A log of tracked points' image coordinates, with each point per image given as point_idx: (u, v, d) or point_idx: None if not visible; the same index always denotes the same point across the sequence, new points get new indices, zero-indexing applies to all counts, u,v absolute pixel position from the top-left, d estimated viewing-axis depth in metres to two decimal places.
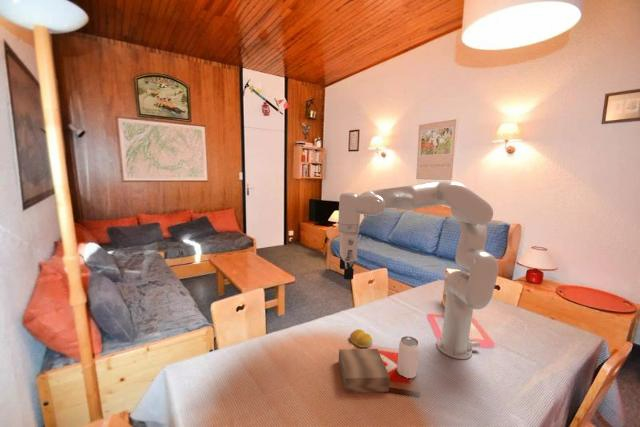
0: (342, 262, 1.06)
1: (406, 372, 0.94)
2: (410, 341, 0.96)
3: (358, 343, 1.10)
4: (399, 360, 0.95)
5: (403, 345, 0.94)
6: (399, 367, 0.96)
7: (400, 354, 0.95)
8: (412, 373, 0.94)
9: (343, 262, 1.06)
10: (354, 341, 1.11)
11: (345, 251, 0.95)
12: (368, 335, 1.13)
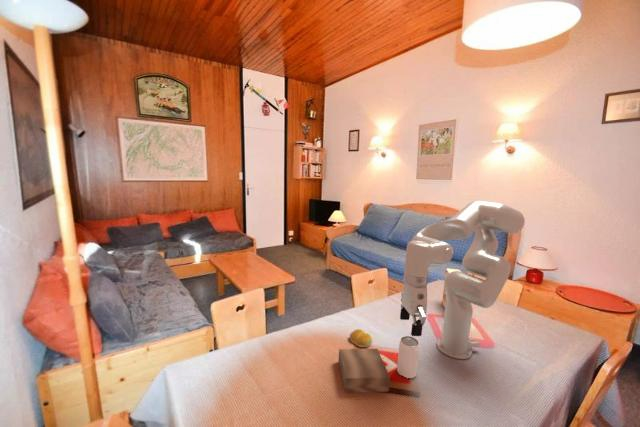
0: (403, 312, 0.98)
1: (406, 372, 0.94)
2: (410, 341, 0.96)
3: (358, 343, 1.10)
4: (399, 360, 0.95)
5: (403, 345, 0.94)
6: (399, 367, 0.96)
7: (400, 354, 0.95)
8: (412, 373, 0.94)
9: (404, 312, 0.98)
10: (354, 341, 1.11)
11: (414, 306, 0.88)
12: (368, 335, 1.13)
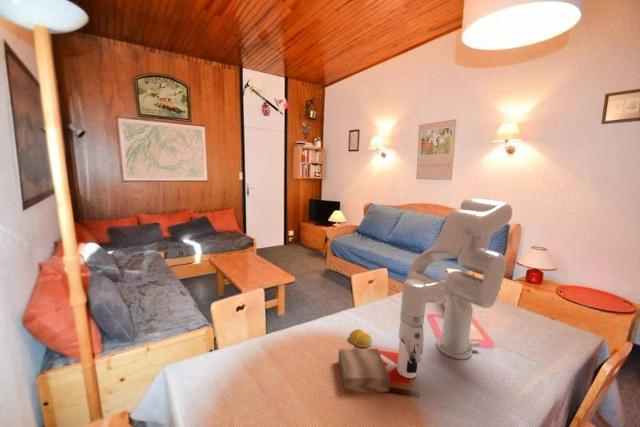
0: None
1: (406, 372, 0.94)
2: None
3: (357, 343, 1.10)
4: (399, 360, 0.95)
5: (403, 345, 0.94)
6: (399, 367, 0.95)
7: (400, 354, 0.95)
8: (412, 373, 0.94)
9: None
10: (353, 341, 1.12)
11: (411, 345, 0.90)
12: (367, 335, 1.13)
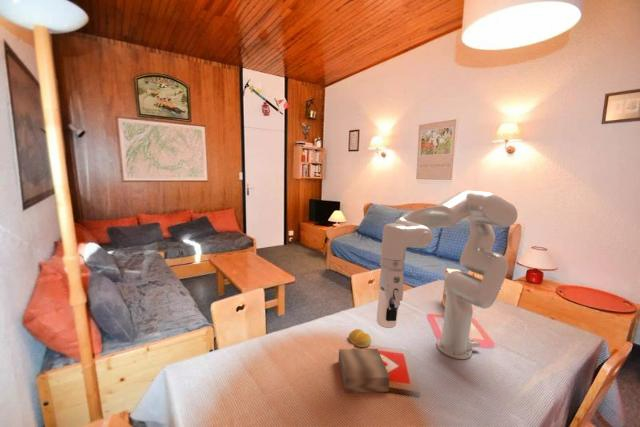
0: None
1: (385, 321, 0.89)
2: None
3: (357, 343, 1.10)
4: (378, 309, 0.91)
5: (382, 292, 0.89)
6: (378, 316, 0.91)
7: (379, 302, 0.90)
8: (391, 322, 0.89)
9: None
10: (353, 341, 1.12)
11: (390, 290, 0.85)
12: (367, 335, 1.13)
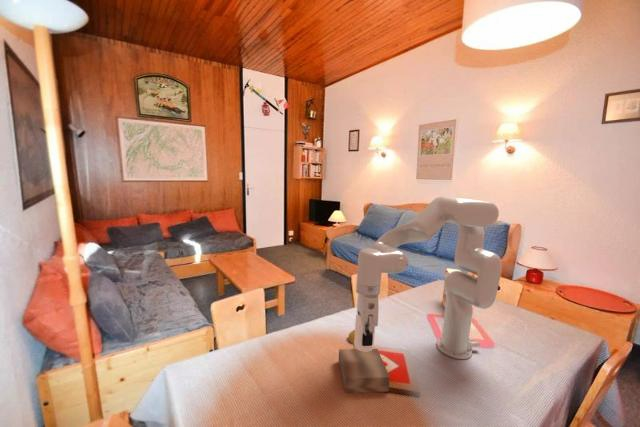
0: None
1: (362, 345, 0.90)
2: None
3: None
4: (355, 333, 0.91)
5: (358, 317, 0.90)
6: (355, 341, 0.91)
7: (356, 327, 0.91)
8: (367, 347, 0.89)
9: None
10: (353, 341, 1.12)
11: (365, 316, 0.86)
12: None
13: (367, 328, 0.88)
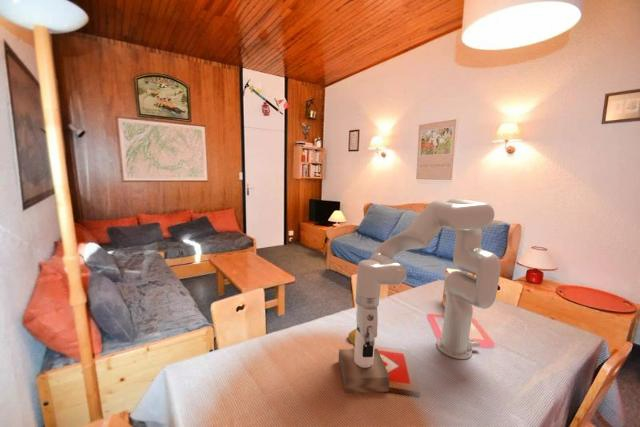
0: None
1: (362, 361, 0.91)
2: None
3: None
4: (355, 349, 0.92)
5: (358, 333, 0.91)
6: (355, 356, 0.93)
7: (356, 343, 0.92)
8: (367, 362, 0.91)
9: None
10: (352, 340, 1.12)
11: (364, 327, 0.86)
12: None
13: None
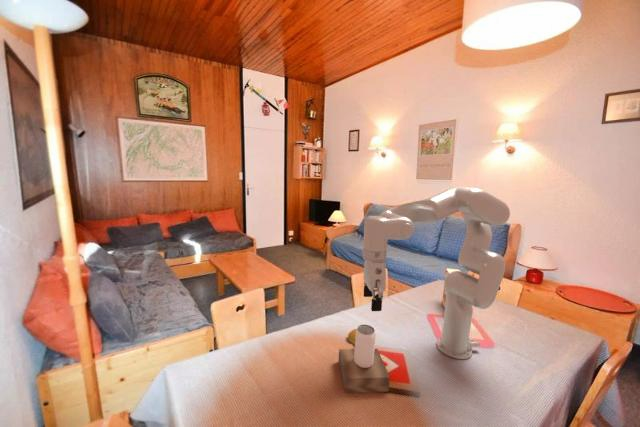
0: (366, 289, 0.97)
1: (362, 361, 0.91)
2: (366, 329, 0.93)
3: None
4: (355, 349, 0.92)
5: (358, 333, 0.91)
6: (355, 356, 0.92)
7: (356, 343, 0.92)
8: (367, 362, 0.91)
9: (367, 289, 0.97)
10: (352, 340, 1.12)
11: (373, 281, 0.87)
12: None
13: (367, 344, 0.90)
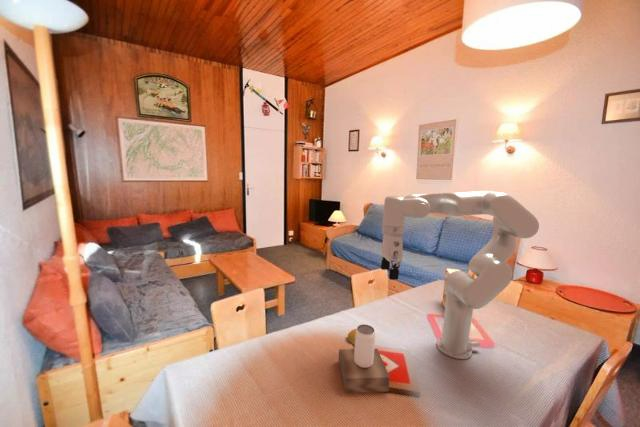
0: (384, 263, 1.09)
1: (362, 361, 0.91)
2: (366, 329, 0.93)
3: None
4: (355, 349, 0.92)
5: (358, 333, 0.91)
6: (355, 356, 0.93)
7: (356, 343, 0.92)
8: (367, 362, 0.91)
9: (385, 263, 1.09)
10: (352, 340, 1.12)
11: (391, 252, 0.99)
12: None
13: (367, 344, 0.90)
